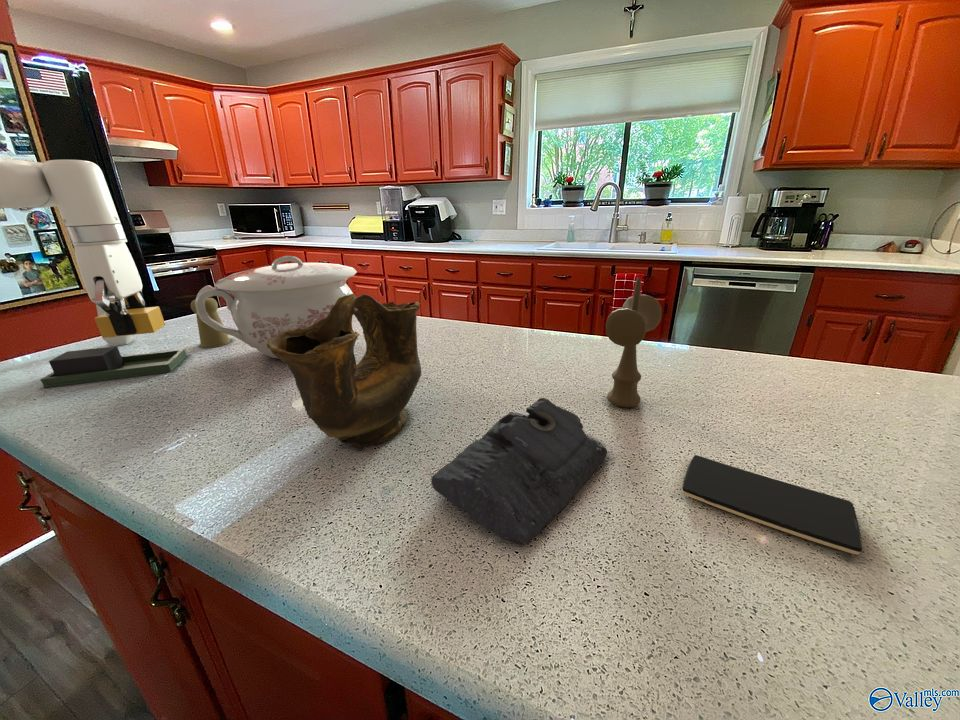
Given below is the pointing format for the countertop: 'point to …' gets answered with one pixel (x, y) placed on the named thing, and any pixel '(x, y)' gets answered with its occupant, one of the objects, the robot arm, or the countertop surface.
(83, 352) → the charcoal pad
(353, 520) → the countertop surface
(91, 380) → the tray
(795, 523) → the smartphone
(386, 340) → the pottery vessel
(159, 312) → the mustard pad
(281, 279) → the chamber pot
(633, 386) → the kendama
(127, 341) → the salt shaker
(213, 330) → the olive knobbed cylinder
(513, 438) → the dark slate chunk
